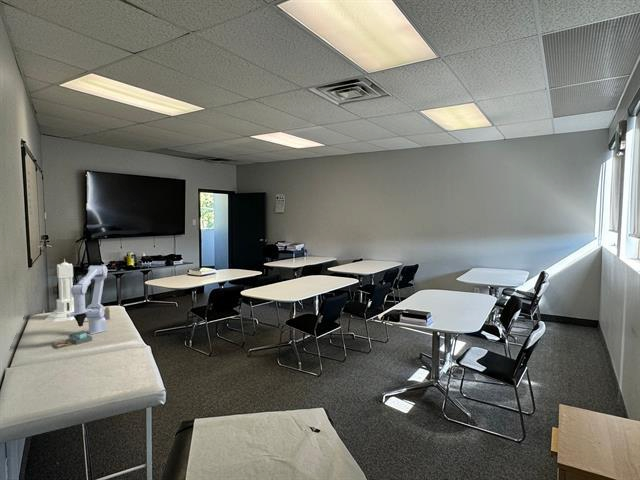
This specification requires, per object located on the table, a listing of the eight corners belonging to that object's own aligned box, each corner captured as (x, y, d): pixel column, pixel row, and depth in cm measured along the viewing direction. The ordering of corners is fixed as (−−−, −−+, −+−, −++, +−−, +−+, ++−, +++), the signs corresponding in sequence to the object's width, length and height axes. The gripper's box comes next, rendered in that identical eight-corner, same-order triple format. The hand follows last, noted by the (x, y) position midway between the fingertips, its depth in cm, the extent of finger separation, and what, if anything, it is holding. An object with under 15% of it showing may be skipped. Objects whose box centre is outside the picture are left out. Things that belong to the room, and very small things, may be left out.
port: (83, 336, 229) (83, 330, 229) (92, 340, 221) (91, 334, 221) (68, 339, 222) (68, 333, 222) (76, 344, 215) (76, 338, 214)
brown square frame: (67, 342, 218) (67, 340, 218) (71, 345, 214) (71, 343, 214) (52, 345, 212) (52, 344, 212) (57, 348, 208) (56, 347, 208)
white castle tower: (93, 316, 274) (90, 258, 271) (47, 324, 254) (43, 261, 251) (84, 309, 294) (82, 255, 291) (41, 316, 274) (38, 257, 271)
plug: (82, 339, 224) (82, 330, 223) (86, 340, 222) (86, 331, 222) (75, 341, 220) (75, 332, 219) (80, 342, 218) (79, 333, 218)
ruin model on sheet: (109, 319, 269) (109, 306, 268) (109, 320, 266) (109, 307, 266) (91, 321, 263) (91, 308, 262) (91, 322, 260) (91, 309, 259)
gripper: (87, 301, 228) (88, 322, 229) (63, 306, 214) (64, 328, 215) (94, 302, 225) (95, 323, 226) (70, 307, 211) (71, 330, 212)
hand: (80, 326), depth 220 cm, fingers closed
